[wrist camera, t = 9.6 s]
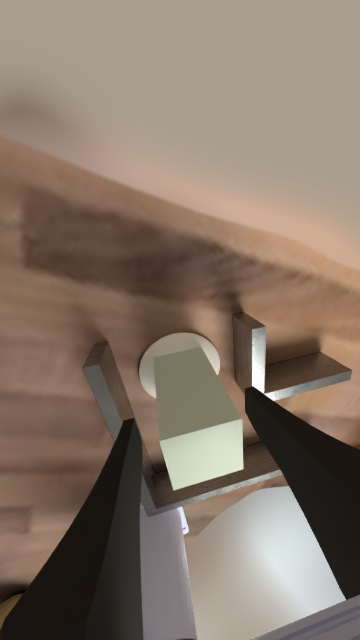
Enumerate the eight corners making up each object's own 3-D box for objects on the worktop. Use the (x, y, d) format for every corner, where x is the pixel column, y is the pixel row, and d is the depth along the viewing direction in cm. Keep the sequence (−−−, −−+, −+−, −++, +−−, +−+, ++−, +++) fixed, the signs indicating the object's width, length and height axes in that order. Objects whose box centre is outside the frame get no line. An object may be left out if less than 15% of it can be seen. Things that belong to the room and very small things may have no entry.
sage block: (205, 384, 17) (243, 469, 10) (162, 395, 16) (173, 490, 10) (201, 346, 15) (242, 418, 9) (153, 357, 15) (159, 441, 8)
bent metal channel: (307, 433, 23) (329, 459, 20) (147, 481, 21) (148, 517, 18) (330, 293, 16) (369, 302, 13) (94, 344, 14) (82, 368, 11)
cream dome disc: (221, 389, 18) (222, 391, 17) (149, 408, 17) (149, 410, 17) (215, 324, 15) (216, 325, 15) (129, 342, 14) (129, 344, 14)
